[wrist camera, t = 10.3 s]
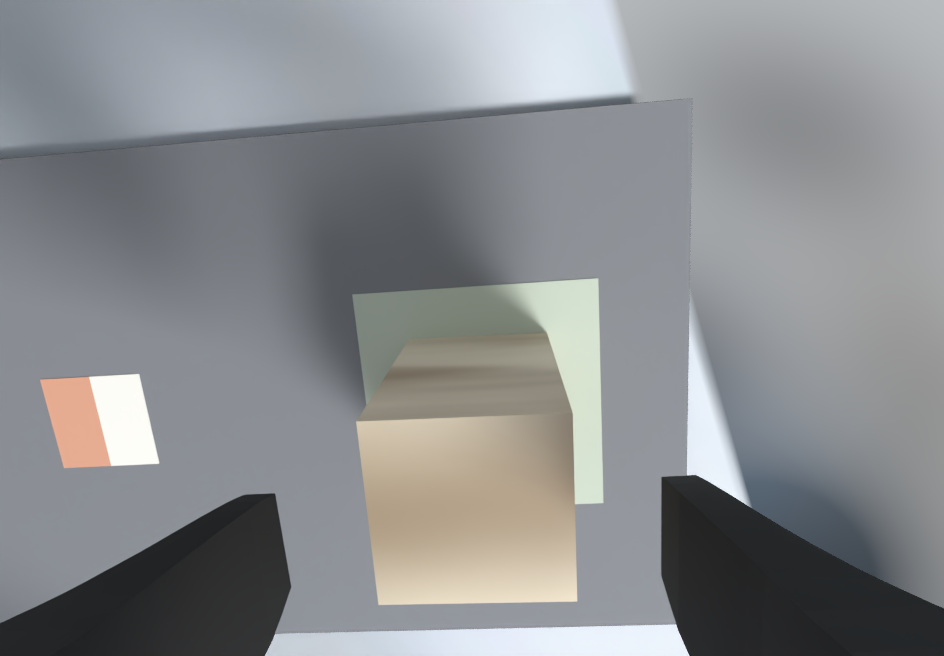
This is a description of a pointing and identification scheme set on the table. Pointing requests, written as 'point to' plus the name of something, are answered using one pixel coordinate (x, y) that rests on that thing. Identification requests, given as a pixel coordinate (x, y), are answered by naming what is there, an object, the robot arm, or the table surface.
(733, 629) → the robot arm
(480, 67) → the table surface
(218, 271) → the mat
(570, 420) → the birch block
